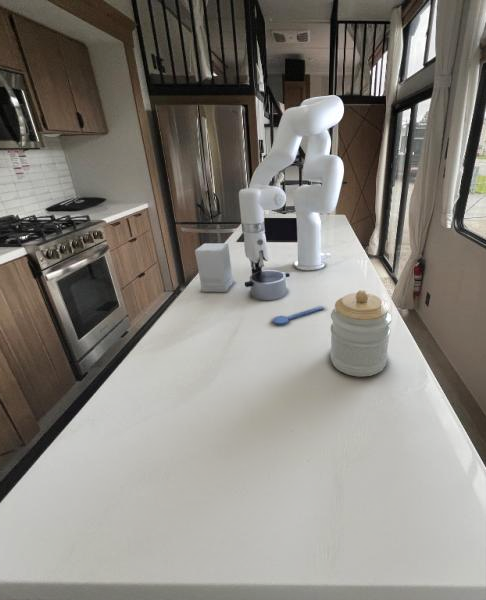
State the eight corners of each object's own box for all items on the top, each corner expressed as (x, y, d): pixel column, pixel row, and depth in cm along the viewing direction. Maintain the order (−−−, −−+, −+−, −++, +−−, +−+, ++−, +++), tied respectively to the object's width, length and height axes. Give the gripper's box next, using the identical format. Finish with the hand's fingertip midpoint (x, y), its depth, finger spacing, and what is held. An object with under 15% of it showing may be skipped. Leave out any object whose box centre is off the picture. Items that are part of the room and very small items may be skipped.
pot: (280, 282, 119) (280, 266, 116) (298, 293, 110) (297, 276, 107) (240, 292, 111) (238, 276, 108) (254, 305, 102) (253, 287, 99)
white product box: (234, 282, 119) (229, 242, 113) (226, 292, 111) (220, 250, 105) (210, 281, 120) (204, 242, 114) (201, 291, 112) (193, 250, 106)
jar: (351, 385, 67) (355, 310, 60) (319, 353, 78) (319, 286, 70) (398, 366, 73) (408, 295, 65) (363, 339, 83) (368, 275, 75)
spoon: (318, 306, 100) (318, 303, 100) (326, 311, 97) (326, 309, 97) (271, 320, 93) (270, 318, 92) (278, 327, 90) (277, 324, 89)
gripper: (273, 230, 104) (276, 283, 112) (254, 222, 115) (258, 270, 123) (251, 233, 100) (256, 287, 108) (234, 224, 112) (239, 274, 120)
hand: (257, 278), depth 116 cm, fingers closed
